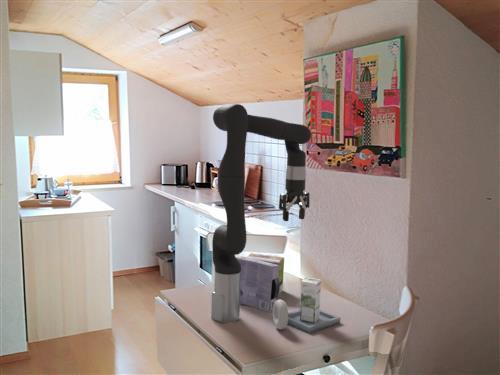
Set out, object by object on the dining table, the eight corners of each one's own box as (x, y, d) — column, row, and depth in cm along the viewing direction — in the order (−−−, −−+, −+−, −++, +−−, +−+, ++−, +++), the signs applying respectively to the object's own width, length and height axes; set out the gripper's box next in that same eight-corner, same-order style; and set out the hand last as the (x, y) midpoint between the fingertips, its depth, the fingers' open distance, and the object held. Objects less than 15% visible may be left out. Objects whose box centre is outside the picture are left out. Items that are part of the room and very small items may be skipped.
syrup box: (319, 318, 184) (321, 278, 182) (314, 323, 178) (316, 283, 177) (304, 315, 186) (306, 276, 184) (299, 320, 181) (300, 280, 179)
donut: (288, 334, 171) (290, 304, 170) (278, 334, 170) (280, 305, 169) (280, 322, 181) (281, 295, 179) (270, 323, 180) (272, 295, 179)
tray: (309, 333, 172) (309, 327, 172) (280, 320, 182) (280, 315, 182) (340, 322, 182) (340, 317, 182) (310, 311, 193) (311, 306, 193)
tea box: (242, 293, 212) (243, 258, 210) (249, 286, 221) (250, 252, 220) (277, 297, 208) (279, 261, 206) (283, 290, 217) (284, 256, 215)
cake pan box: (279, 309, 194) (281, 264, 192) (272, 313, 189) (274, 266, 187) (239, 298, 205) (240, 255, 203) (231, 301, 201) (232, 257, 199)
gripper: (289, 179, 188) (287, 223, 190) (315, 178, 197) (313, 219, 199) (275, 177, 194) (273, 220, 195) (301, 176, 203) (299, 216, 205)
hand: (293, 219), depth 197 cm, fingers open, 8 cm apart
